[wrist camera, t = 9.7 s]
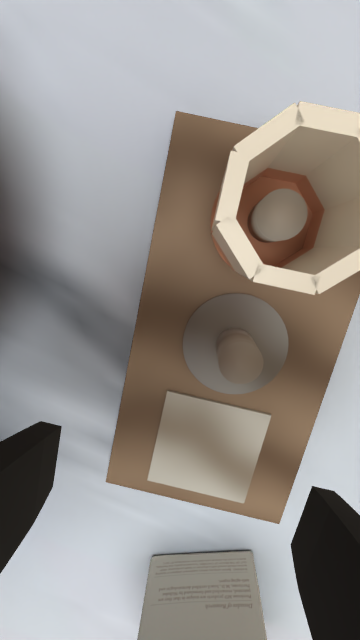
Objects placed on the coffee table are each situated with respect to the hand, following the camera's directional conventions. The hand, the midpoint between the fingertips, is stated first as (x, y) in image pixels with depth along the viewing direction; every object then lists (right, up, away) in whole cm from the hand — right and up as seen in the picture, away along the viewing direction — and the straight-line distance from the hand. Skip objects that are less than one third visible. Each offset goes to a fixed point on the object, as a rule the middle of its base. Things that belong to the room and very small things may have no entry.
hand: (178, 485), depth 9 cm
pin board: (+3, +4, +10) cm, 11 cm away
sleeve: (+4, +9, +6) cm, 12 cm away
